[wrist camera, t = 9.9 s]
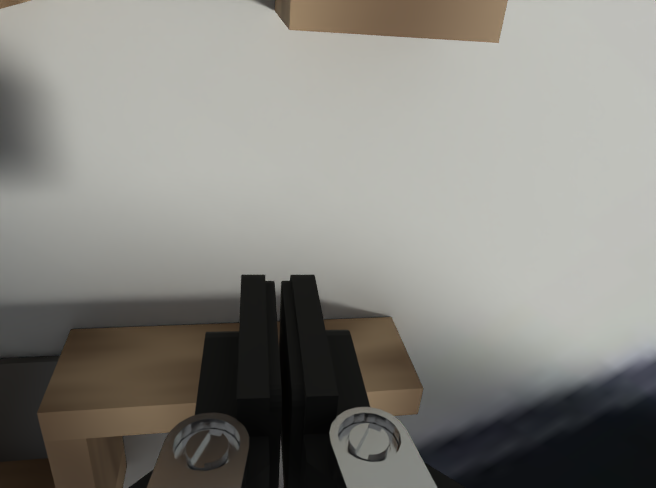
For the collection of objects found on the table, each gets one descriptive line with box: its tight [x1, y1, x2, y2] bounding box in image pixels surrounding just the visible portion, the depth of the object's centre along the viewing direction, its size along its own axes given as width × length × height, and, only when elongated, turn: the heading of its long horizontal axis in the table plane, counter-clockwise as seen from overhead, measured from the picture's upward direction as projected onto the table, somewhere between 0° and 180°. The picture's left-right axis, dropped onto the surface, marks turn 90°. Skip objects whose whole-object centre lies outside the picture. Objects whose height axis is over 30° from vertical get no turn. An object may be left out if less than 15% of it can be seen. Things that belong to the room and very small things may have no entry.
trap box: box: [0, 0, 508, 488], centre depth 15 cm, size 22×26×4 cm
